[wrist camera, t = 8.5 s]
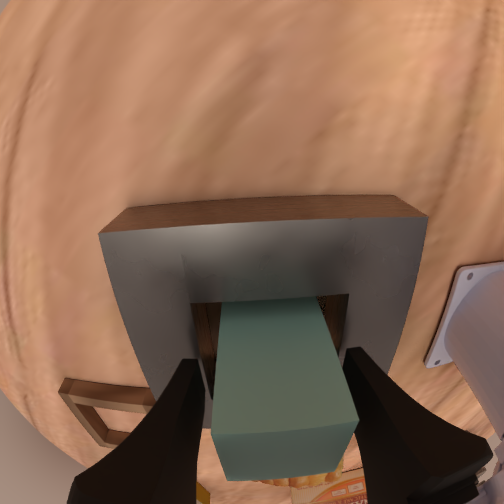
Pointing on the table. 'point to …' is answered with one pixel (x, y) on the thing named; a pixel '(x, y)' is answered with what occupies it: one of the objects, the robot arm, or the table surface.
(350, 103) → the table surface
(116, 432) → the stand frame
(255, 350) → the teal peg
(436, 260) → the table surface
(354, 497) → the coffeecake box
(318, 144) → the table surface
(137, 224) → the socket block
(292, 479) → the pastry
